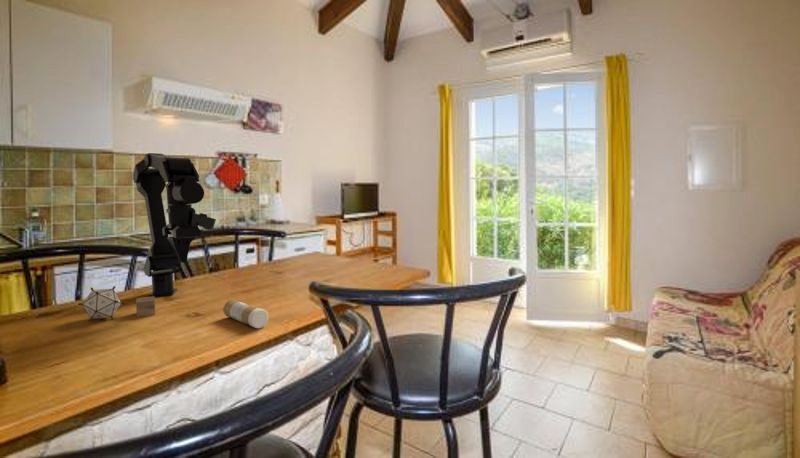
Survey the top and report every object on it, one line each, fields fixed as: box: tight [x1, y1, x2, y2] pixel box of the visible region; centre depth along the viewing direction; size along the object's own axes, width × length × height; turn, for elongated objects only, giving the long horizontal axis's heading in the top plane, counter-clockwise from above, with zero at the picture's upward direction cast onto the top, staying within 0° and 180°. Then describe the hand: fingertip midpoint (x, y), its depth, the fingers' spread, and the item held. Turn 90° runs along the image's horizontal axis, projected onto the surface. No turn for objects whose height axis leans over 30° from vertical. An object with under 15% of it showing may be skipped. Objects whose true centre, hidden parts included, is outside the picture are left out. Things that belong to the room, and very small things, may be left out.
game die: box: [77, 285, 125, 323], centre depth 103 cm, size 9×8×10 cm
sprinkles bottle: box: [222, 299, 269, 329], centre depth 102 cm, size 5×5×13 cm
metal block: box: [135, 296, 156, 318], centre depth 107 cm, size 4×4×4 cm
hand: (183, 262), depth 111 cm, fingers closed
